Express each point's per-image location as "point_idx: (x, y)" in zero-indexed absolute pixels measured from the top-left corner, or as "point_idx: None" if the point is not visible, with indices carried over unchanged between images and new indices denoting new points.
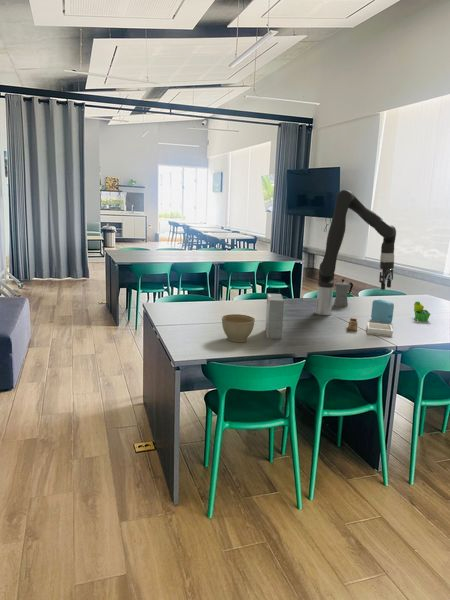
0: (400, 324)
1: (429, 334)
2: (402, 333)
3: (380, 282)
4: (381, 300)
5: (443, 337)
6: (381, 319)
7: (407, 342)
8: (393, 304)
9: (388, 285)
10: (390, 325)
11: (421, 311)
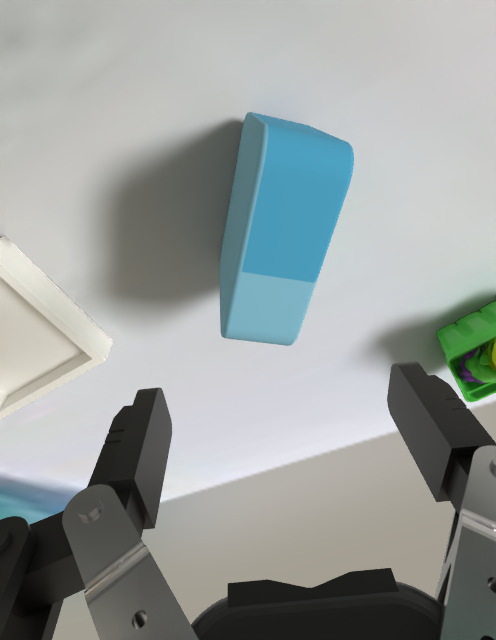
0: None
1: (215, 448)
2: (114, 395)
3: (15, 532)
4: (311, 226)
5: (221, 481)
6: (227, 225)
7: (13, 457)
8: (285, 344)
9: (402, 405)
10: (83, 366)
11: (488, 369)
